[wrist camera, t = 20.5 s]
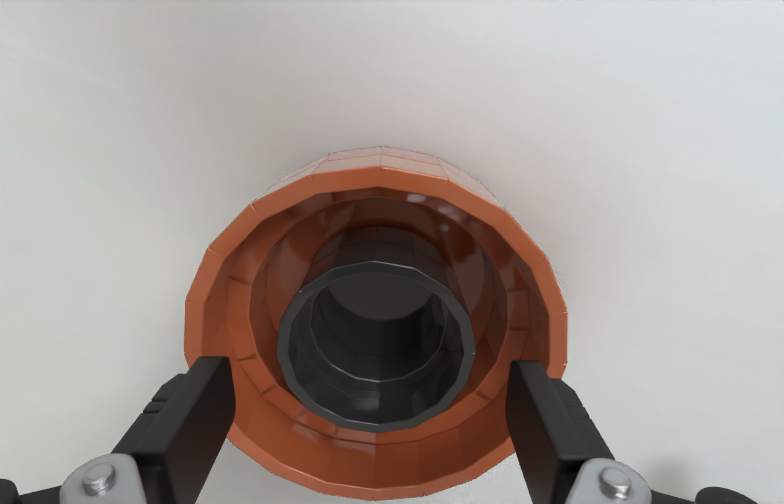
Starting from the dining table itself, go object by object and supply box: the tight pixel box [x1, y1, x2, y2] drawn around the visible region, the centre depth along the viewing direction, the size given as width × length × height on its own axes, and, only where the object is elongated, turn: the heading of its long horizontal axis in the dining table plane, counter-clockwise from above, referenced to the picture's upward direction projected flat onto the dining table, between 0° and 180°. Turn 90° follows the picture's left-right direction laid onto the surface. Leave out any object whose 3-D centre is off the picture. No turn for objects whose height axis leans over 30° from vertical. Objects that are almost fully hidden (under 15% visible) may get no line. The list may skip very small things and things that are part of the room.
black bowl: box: [276, 226, 476, 433], centre depth 16 cm, size 6×6×4 cm
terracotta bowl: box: [184, 147, 568, 501], centre depth 17 cm, size 12×12×5 cm
